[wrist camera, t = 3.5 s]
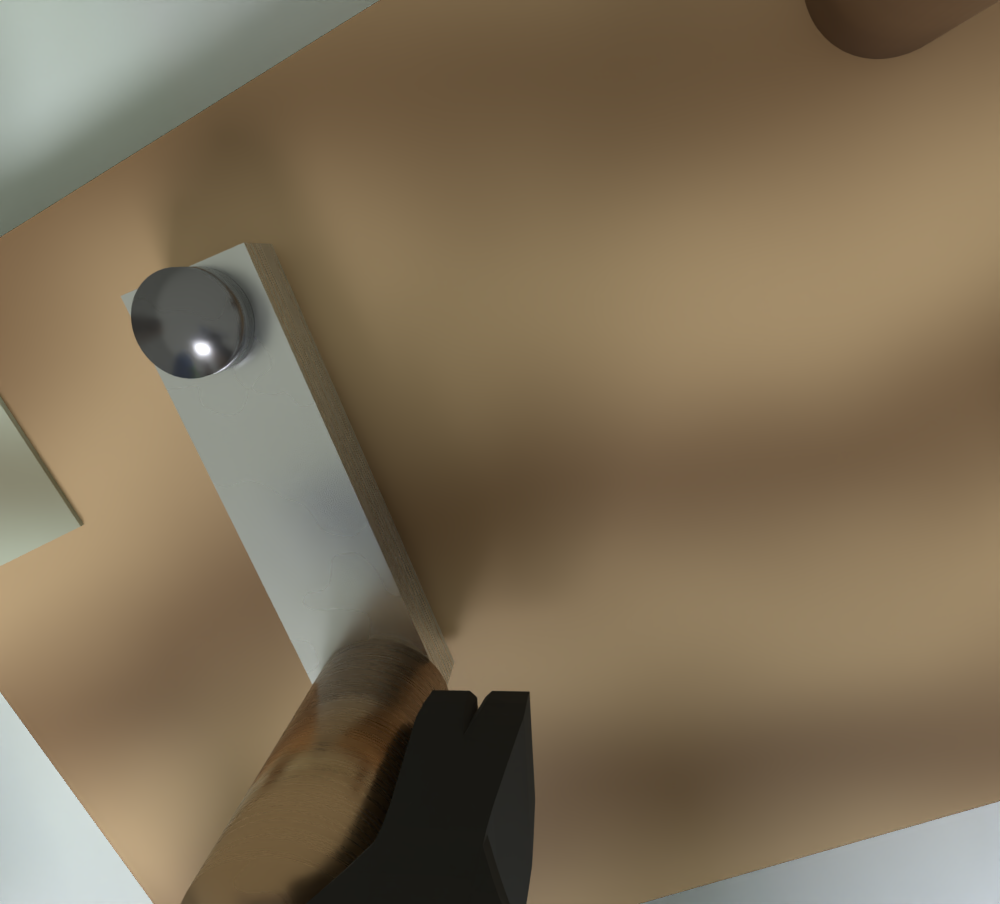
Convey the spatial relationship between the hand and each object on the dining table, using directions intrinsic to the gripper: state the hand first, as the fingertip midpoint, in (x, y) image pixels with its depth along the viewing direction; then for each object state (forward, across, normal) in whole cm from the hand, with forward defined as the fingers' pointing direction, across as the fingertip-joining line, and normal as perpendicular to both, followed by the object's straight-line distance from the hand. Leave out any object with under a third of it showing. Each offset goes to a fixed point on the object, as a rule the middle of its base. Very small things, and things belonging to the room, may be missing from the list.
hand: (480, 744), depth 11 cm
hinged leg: (+2, +3, -3) cm, 5 cm away
